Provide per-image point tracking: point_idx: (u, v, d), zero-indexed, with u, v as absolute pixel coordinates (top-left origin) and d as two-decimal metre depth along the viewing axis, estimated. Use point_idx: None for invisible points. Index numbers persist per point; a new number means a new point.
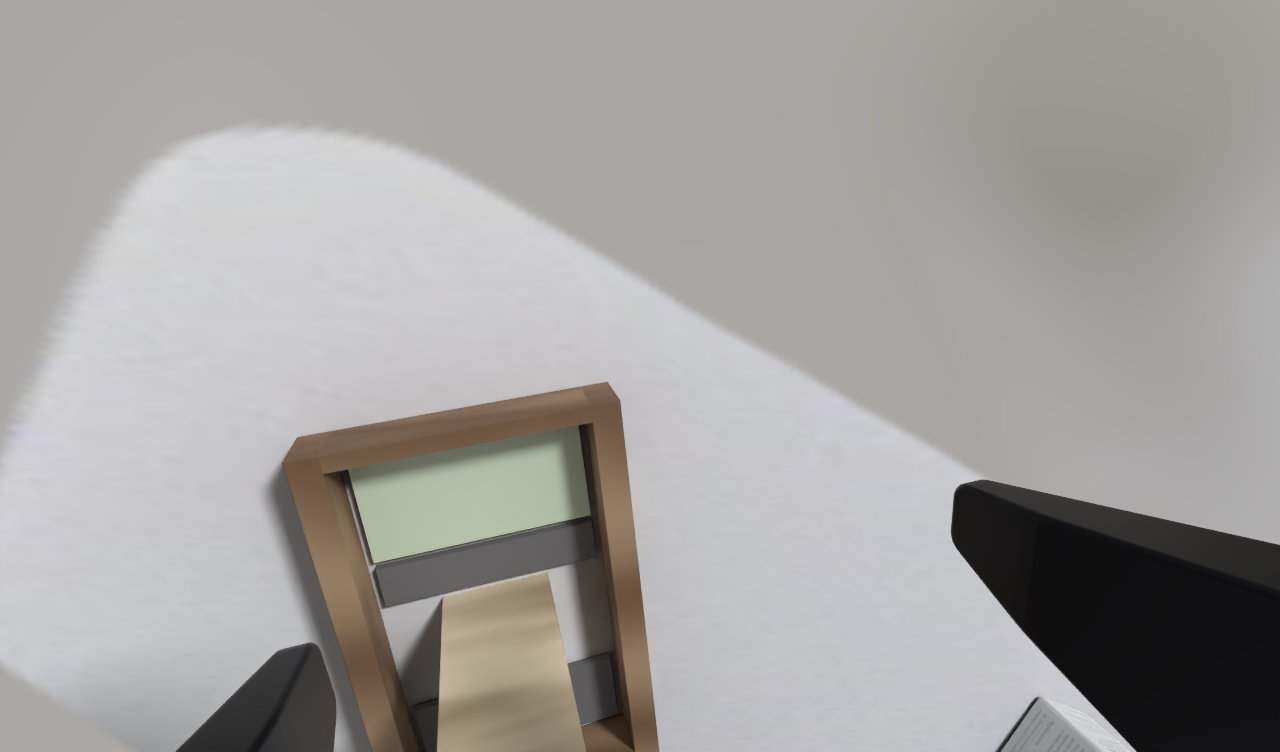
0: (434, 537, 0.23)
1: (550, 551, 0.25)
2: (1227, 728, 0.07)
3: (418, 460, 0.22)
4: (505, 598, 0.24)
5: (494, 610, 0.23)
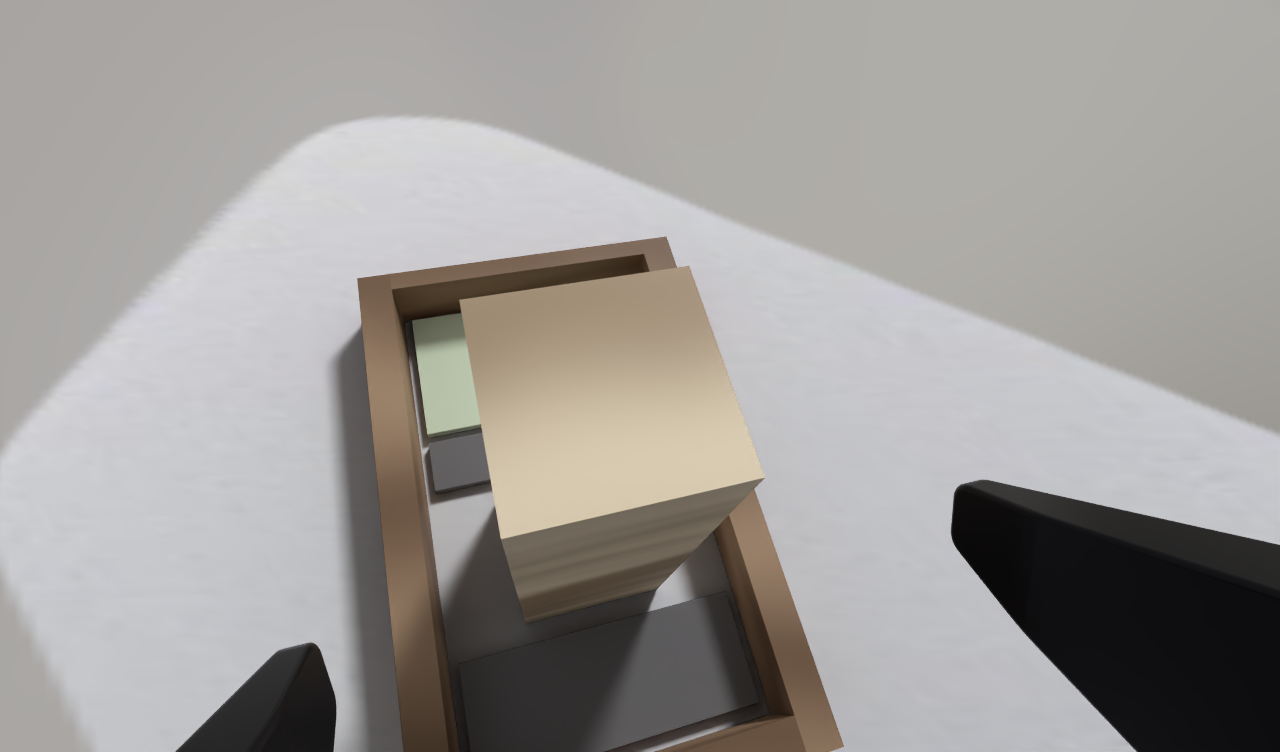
0: None
1: None
2: (1227, 728, 0.07)
3: None
4: None
5: None
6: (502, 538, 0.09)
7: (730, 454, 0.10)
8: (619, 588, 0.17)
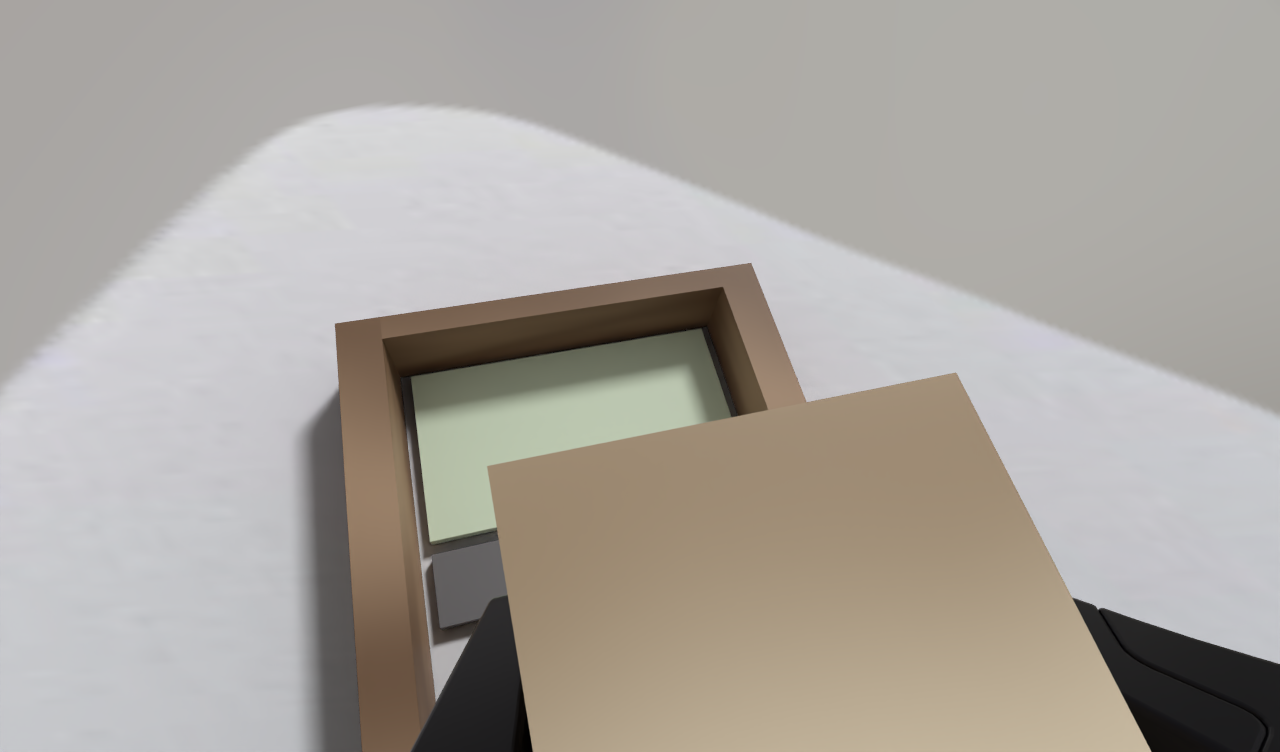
0: None
1: None
2: None
3: (503, 385, 0.17)
4: None
5: None
6: None
7: None
8: None
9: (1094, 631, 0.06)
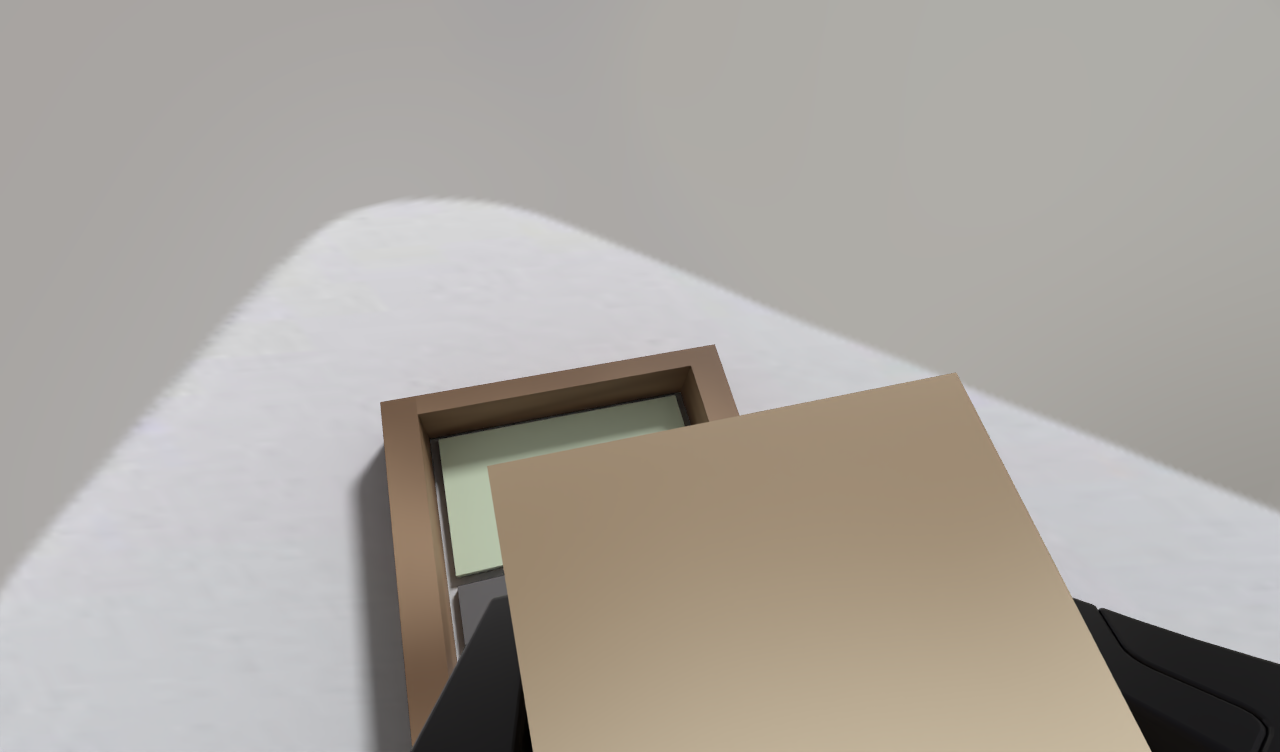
0: None
1: None
2: None
3: (513, 445, 0.21)
4: None
5: None
6: None
7: None
8: None
9: (1094, 631, 0.06)
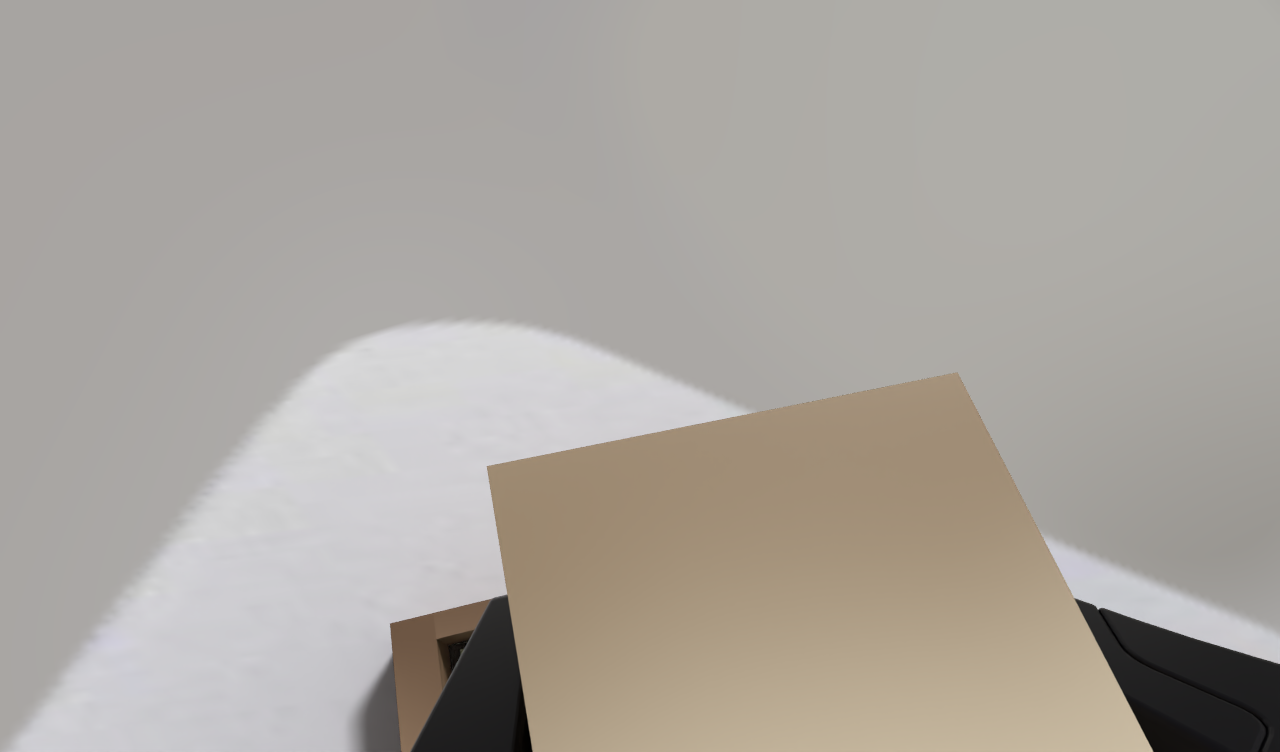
0: None
1: None
2: None
3: None
4: None
5: None
6: None
7: None
8: None
9: (1094, 631, 0.06)
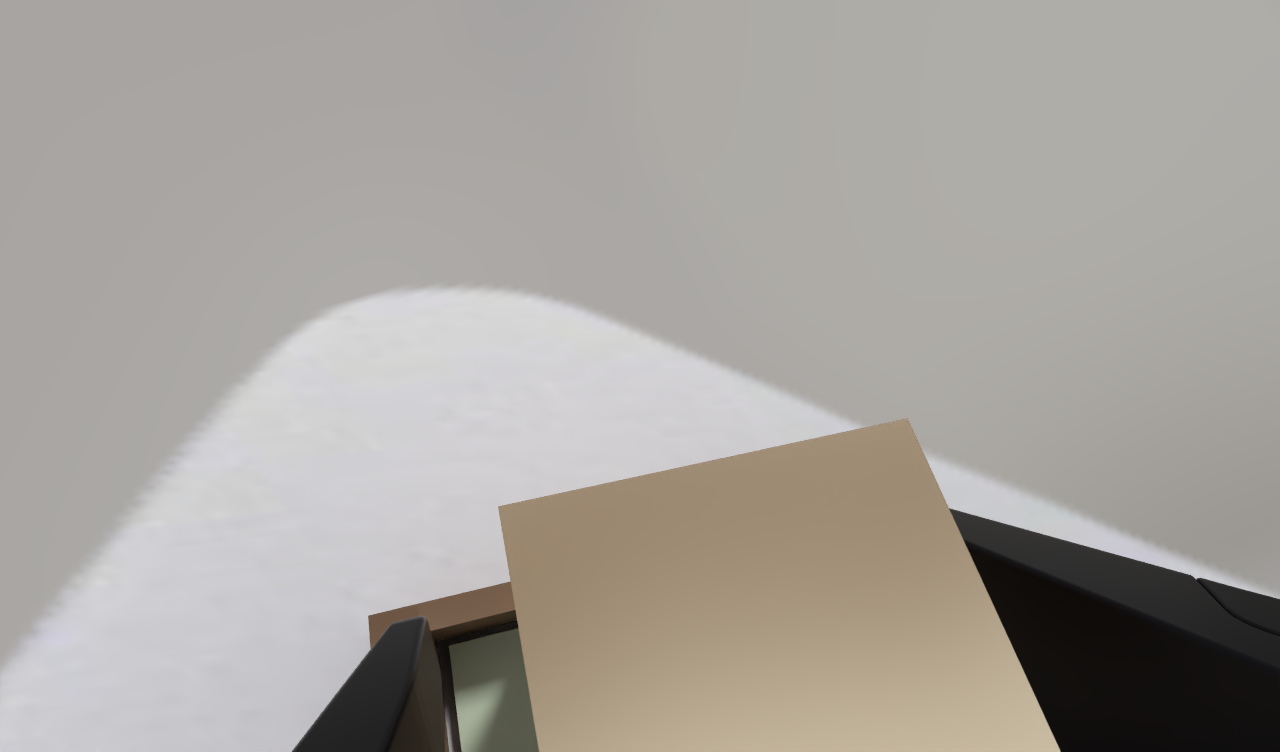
0: None
1: None
2: None
3: None
4: None
5: None
6: None
7: None
8: None
9: (1198, 599, 0.06)
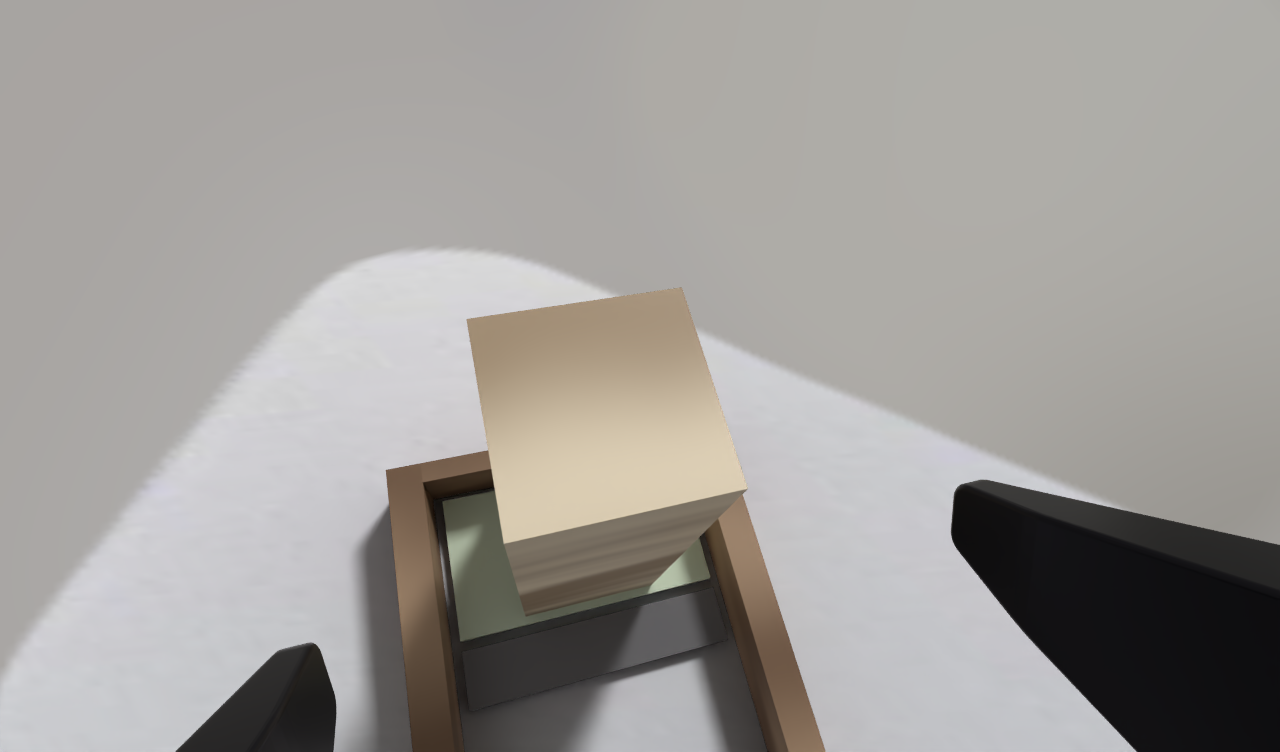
0: None
1: (669, 629, 0.20)
2: (1227, 728, 0.07)
3: None
4: None
5: None
6: (505, 543, 0.10)
7: (716, 466, 0.11)
8: (615, 584, 0.18)
9: None
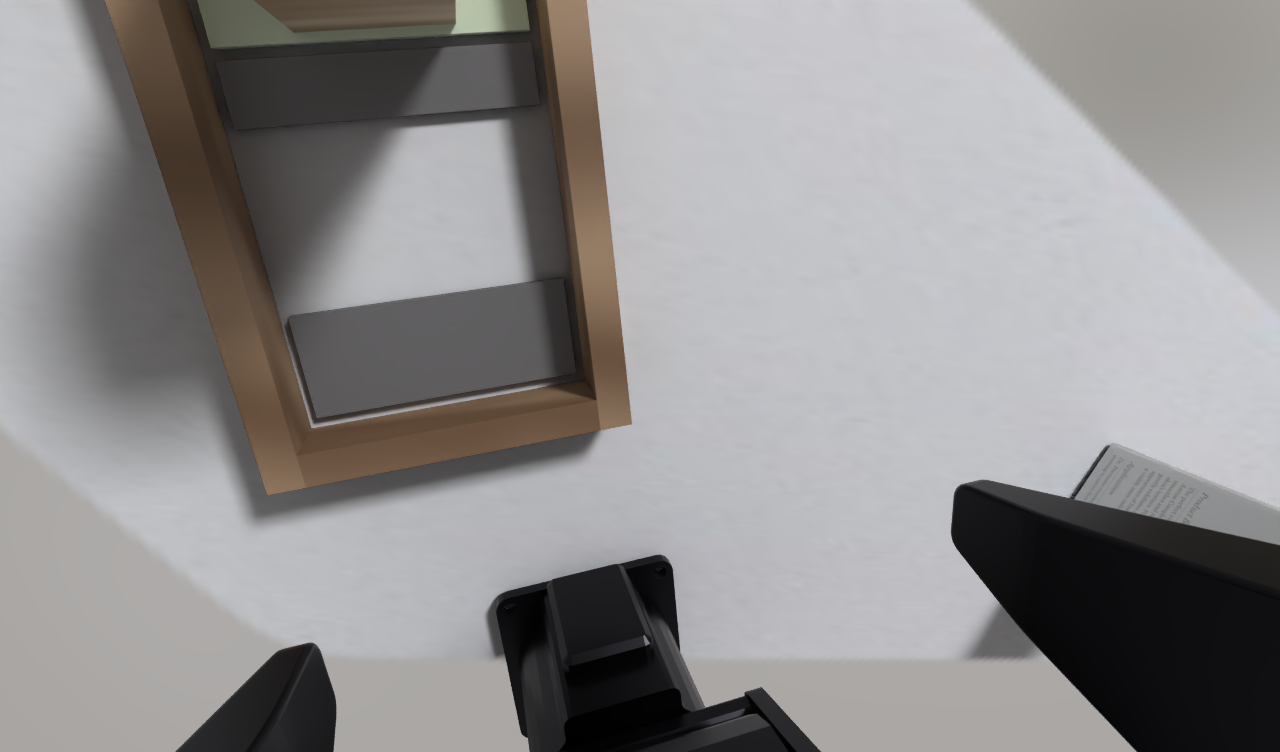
0: None
1: (473, 81, 0.18)
2: (1227, 728, 0.07)
3: None
4: None
5: None
6: None
7: None
8: (391, 6, 0.15)
9: None
